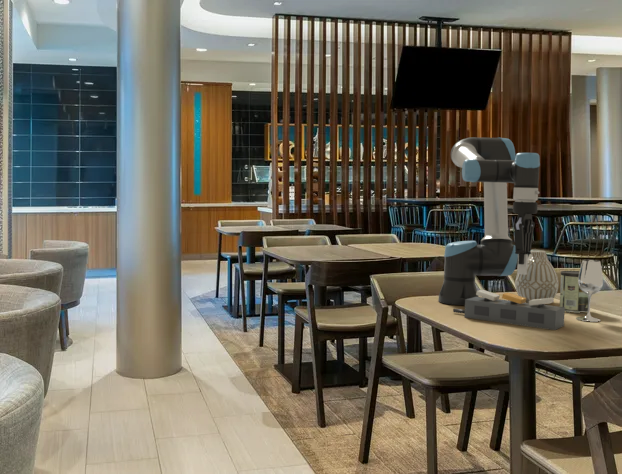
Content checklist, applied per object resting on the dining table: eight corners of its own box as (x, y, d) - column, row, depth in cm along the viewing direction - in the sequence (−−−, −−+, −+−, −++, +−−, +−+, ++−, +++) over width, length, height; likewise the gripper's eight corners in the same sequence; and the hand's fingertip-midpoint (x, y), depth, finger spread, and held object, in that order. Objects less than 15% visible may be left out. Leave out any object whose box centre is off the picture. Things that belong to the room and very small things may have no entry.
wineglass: (571, 317, 231) (574, 259, 229) (593, 317, 231) (596, 259, 230) (582, 322, 223) (585, 261, 221) (605, 322, 223) (608, 262, 222)
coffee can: (586, 309, 248) (588, 271, 247) (592, 314, 238) (594, 274, 237) (556, 307, 250) (558, 269, 249) (561, 312, 240) (563, 273, 239)
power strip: (447, 315, 230) (448, 295, 230) (459, 311, 237) (460, 292, 237) (554, 330, 208) (555, 308, 208) (563, 325, 216) (565, 304, 215)
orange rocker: (501, 298, 221) (502, 294, 221) (506, 296, 224) (507, 292, 224) (520, 303, 217) (521, 299, 217) (525, 302, 221) (526, 298, 220)
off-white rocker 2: (529, 305, 215) (528, 300, 216) (534, 303, 219) (533, 299, 219) (549, 303, 212) (548, 299, 212) (553, 301, 215) (553, 297, 215)
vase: (526, 297, 273) (529, 248, 272) (564, 303, 262) (567, 251, 260) (506, 301, 262) (508, 250, 260) (545, 307, 251) (548, 253, 249)
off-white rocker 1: (475, 294, 226) (476, 290, 226) (481, 293, 230) (482, 289, 230) (493, 300, 223) (494, 296, 222) (498, 299, 226) (499, 295, 226)
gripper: (529, 201, 210) (526, 277, 211) (543, 201, 220) (540, 273, 222) (506, 201, 214) (503, 274, 216) (521, 200, 224) (518, 271, 226)
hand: (522, 274), depth 219 cm, fingers closed
